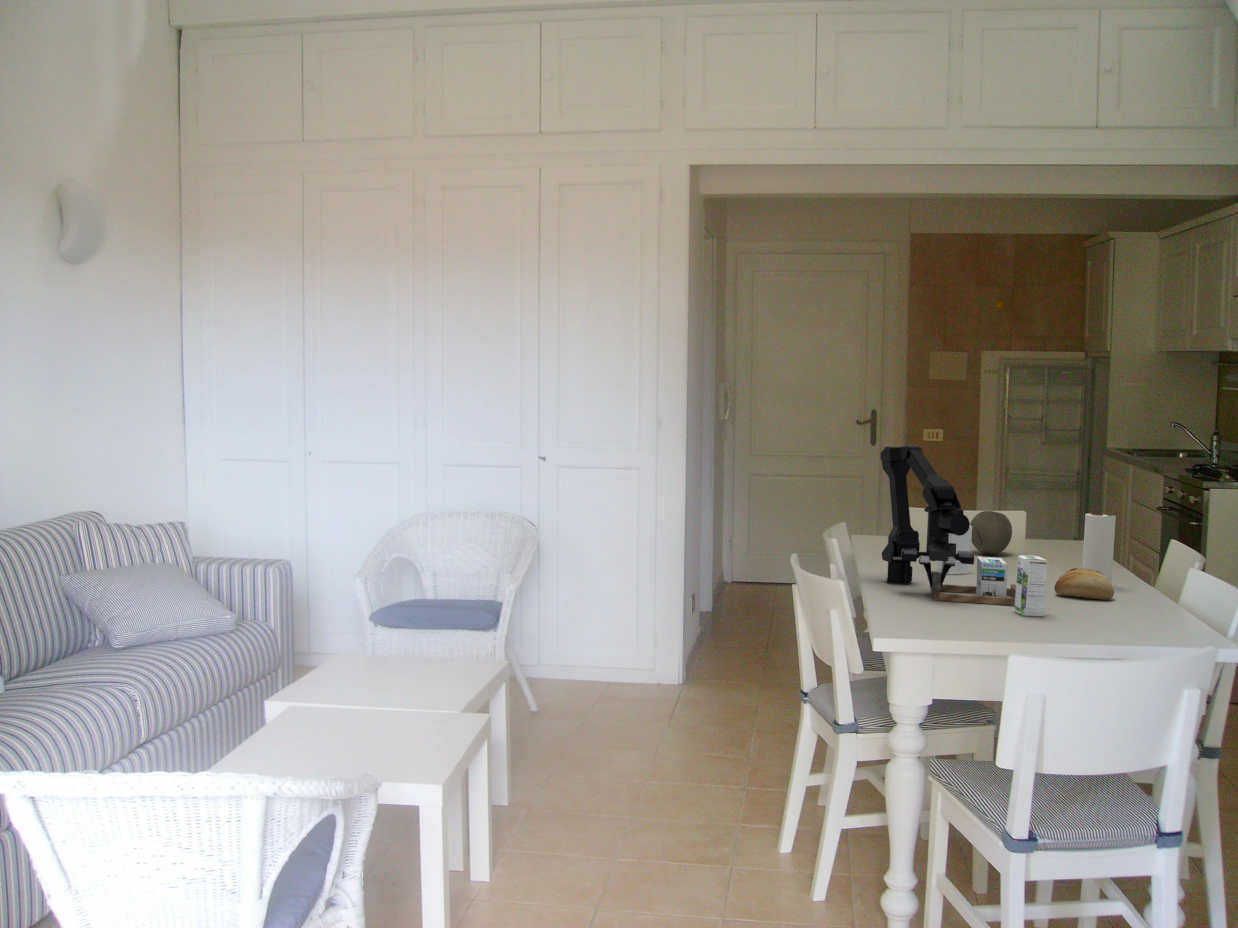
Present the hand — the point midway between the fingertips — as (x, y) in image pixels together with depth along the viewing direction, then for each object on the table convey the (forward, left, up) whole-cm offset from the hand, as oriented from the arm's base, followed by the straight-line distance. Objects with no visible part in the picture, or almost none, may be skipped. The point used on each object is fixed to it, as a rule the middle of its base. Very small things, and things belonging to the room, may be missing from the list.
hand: (935, 587), depth 290 cm
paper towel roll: (+46, +28, -2) cm, 54 cm away
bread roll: (+40, +12, -3) cm, 41 cm away
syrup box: (+22, -17, -2) cm, 28 cm away
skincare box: (+8, +40, -2) cm, 41 cm away
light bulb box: (+14, 0, -2) cm, 14 cm away
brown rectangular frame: (+10, 0, -2) cm, 11 cm away
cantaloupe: (+23, +83, -2) cm, 86 cm away
